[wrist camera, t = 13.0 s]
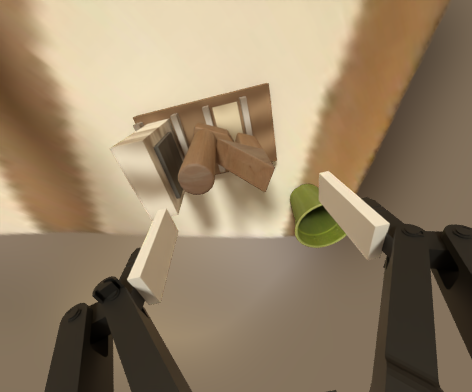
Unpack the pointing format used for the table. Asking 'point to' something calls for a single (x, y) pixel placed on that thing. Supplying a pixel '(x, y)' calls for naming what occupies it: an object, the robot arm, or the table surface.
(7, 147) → the table surface
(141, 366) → the robot arm
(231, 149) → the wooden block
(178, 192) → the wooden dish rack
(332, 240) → the plant pot
